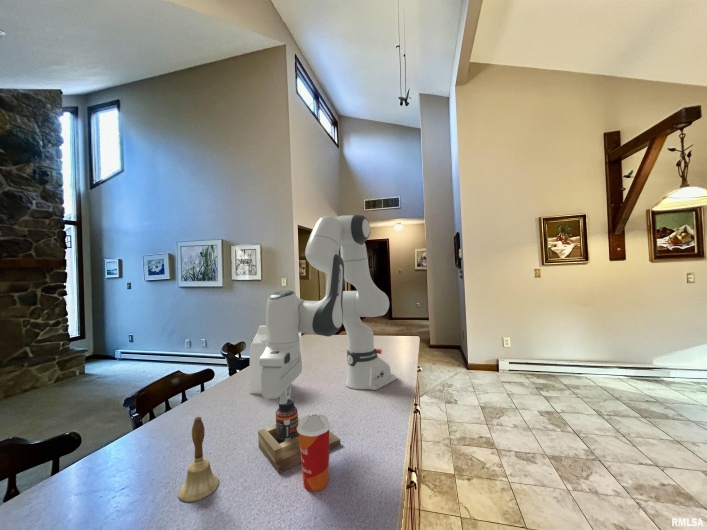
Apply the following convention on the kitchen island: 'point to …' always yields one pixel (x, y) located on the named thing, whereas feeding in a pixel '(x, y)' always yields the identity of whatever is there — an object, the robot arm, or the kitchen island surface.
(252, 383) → the milk
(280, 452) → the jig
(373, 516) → the kitchen island surface
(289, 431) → the supplement bottle
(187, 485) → the hand bell
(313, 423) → the paper cup
